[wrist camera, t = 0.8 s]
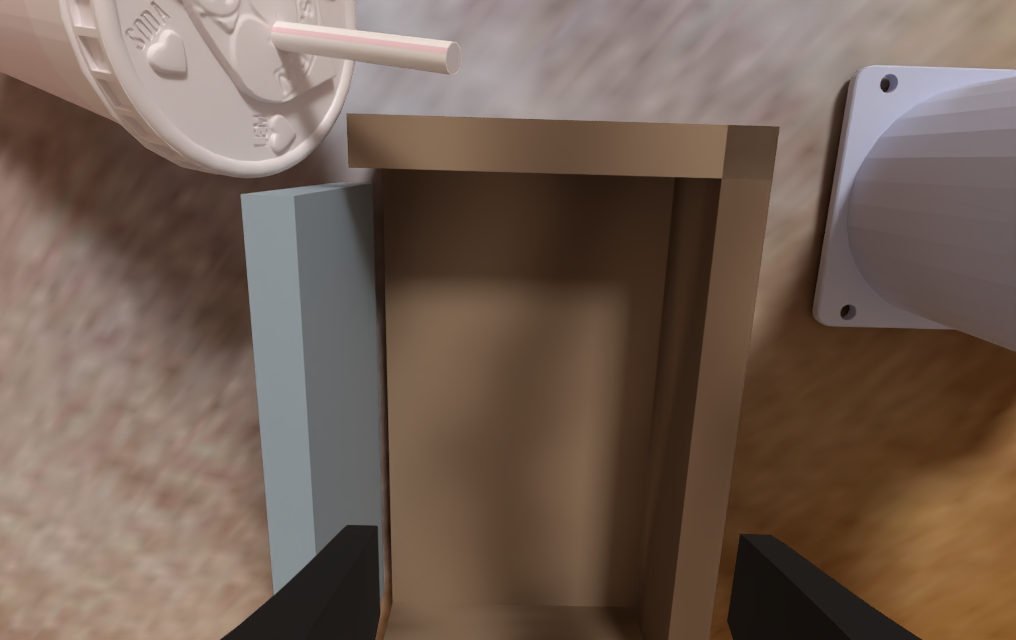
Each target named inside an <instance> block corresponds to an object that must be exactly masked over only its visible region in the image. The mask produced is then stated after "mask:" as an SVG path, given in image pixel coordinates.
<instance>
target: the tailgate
mask: <svg viewBox="0 0 1016 640" xmlns="http://www.w3.org/2000/svg"><path fill="white" fill-rule="evenodd" d="M241 207H242V219H243V231H244V243H245V255H246V267H247V279H248V291H249V303H250V315H251V327H252V339H253V351H254V363H255V375H256V387H257V399H258V411H259V423H260V435H261V447H262V459H263V471H264V483H265V495H266V507H267V519H268V531H269V543H270V555H271V567H272V579H273V591H274V595H275V594H276V593H277V592H278V591H279V590H280V589H281V588H282V587H284V586H285V585H286V584H287V583H288V582H289V581H290V580H291V579H292V578H293V577H294V576H295V575H296V574H297V573H298V572H299V571H301V570H302V569H303V568H304V567H305V566H306V565H307V564H308V563H309V562H310V561H311V560H312V559H313V558H314V557H315V556H316V555H317V554H318V553H319V552H320V551H321V550H322V549H323V548H324V547H325V546H326V545H327V544H328V543H329V542H330V541H331V540H332V539H333V538H334V537H335V536H336V535H337V534H338V533H339V532H340V531H341V530H342V529H343V528H344V527H345V526H346V525H375V526H378V548H379V582H380V603H381V600H382V596H383V592H384V571H383V535H382V500H381V464H380V429H379V393H378V358H377V322H376V287H375V251H374V216H373V183H356V182H335V183H327V184H319V185H311V186H303V187H295V188H287V189H279V190H271V191H263V192H255V193H247V194H241Z"/></svg>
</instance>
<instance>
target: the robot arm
mask: <svg viewBox="0 0 1016 640" xmlns="http://www.w3.org/2000/svg"><path fill="white" fill-rule="evenodd" d="M884 76H885V77H887V78H888V79H889V82H890V86H889V88H888V90H887V91H886V92H883V91H882V90H881V88H880V82H881V80H882V78H883V77H884ZM845 305H849V308H850V310H849V312H848V314H847V315H845V316H844V317H841V316H840V311H841V309H842V308H843V307H844V306H845ZM813 316H814V318H815V320H817V321H818V322H819V323H821V324H823V325H826V326H838V327H876V328H914V329H952V330H958V331H961V332H964V333H966V334H969V335H972V336H974V337H977V338H980V339H982V340H985V341H988V342H990V343H993V344H996V345H999V346H1001V347H1004V348H1007V349H1009V350H1012V351H1015V352H1016V70H1009V69H978V68H946V67H915V66H884V65H873V66H867V67H864V68H861V69H859V70H858V71H856V72H855V73H854V75H853V76H852V77H851V80H850V83H849V88H848V94H847V100H846V106H845V112H844V118H843V125H842V131H841V137H840V143H839V149H838V155H837V162H836V168H835V174H834V180H833V186H832V192H831V199H830V205H829V211H828V217H827V223H826V229H825V236H824V242H823V248H822V254H821V260H820V266H819V272H818V279H817V285H816V291H815V297H814V303H813ZM379 618H380V582H379V548H378V526H375V525H346V526H345V527H344V528H343V529H342V530H341V531H340V532H339V533H338V534H337V535H336V536H335V537H334V538H333V539H332V540H331V541H330V542H329V543H328V544H327V545H326V546H325V547H324V548H323V549H322V550H321V551H320V552H319V553H318V554H317V555H316V556H315V557H314V558H313V559H312V560H311V561H310V562H309V563H308V564H307V565H306V566H305V567H304V568H303V569H302V570H301V571H299V572H298V573H297V574H296V575H295V576H294V577H293V578H292V579H291V580H290V581H289V582H288V583H287V584H286V585H285V586H284V587H282V588H281V589H280V590H279V591H278V592H277V593H276V594H275V595H274V596H273V597H272V598H270V599H269V600H268V601H267V602H266V603H265V604H263V605H262V606H261V607H260V608H259V609H258V610H256V611H255V612H254V613H253V614H252V615H251V616H249V617H248V618H247V619H246V620H245V621H244V622H242V623H241V624H240V625H239V626H237V627H236V628H235V629H234V630H232V631H231V632H230V633H228V634H227V635H226V636H224V637H223V638H222V639H221V640H375V638H376V633H377V628H378V623H379ZM727 621H728V624H729V627H730V631H731V634H732V637H733V640H922V639H920V638H919V637H917V636H915V635H914V634H912V633H911V632H909V631H908V630H906V629H905V628H903V627H902V626H900V625H899V624H897V623H895V622H894V621H892V620H891V619H889V618H888V617H886V616H885V615H883V614H882V613H881V612H879V611H878V610H876V609H875V608H873V607H872V606H870V605H869V604H867V603H866V602H865V601H863V600H862V599H860V598H859V597H857V596H856V595H855V594H853V593H852V592H850V591H849V590H848V589H846V588H845V587H843V586H842V585H841V584H839V583H838V582H837V581H835V580H834V579H832V578H831V577H830V576H828V575H827V574H826V573H824V572H823V571H821V570H820V569H819V568H817V567H816V566H815V565H813V564H812V563H811V562H809V561H808V560H806V559H805V558H804V557H802V556H801V555H799V554H798V553H797V552H795V551H794V550H793V549H791V548H790V547H788V546H787V545H785V544H784V543H782V542H781V541H779V540H778V539H776V538H775V537H773V536H772V535H752V534H740V538H739V545H738V552H737V559H736V565H735V572H734V579H733V586H732V593H731V599H730V606H729V613H728V620H727Z"/></svg>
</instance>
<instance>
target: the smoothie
mask: <svg viewBox="0 0 1016 640" xmlns="http://www.w3.org/2000/svg"><path fill="white" fill-rule="evenodd" d="M355 61H359V62H366V63H373V64H380V65H387V66H394V67H401V68H408V69H415V70H422V71H429V72H436V73H443V74H450V75H455V74H456V73H457V72H458V71H459V69H460V66H461V61H462V53H461V48H460V46H459V44H458V43H457V42H452V41H443V40H435V39H426V38H418V37H409V36H401V35H393V34H384V33H376V32H367V31H359V30H357V25H356V6H355V0H0V72H2V73H5V74H7V75H9V76H12V77H14V78H16V79H18V80H21V81H23V82H25V83H28V84H30V85H32V86H34V87H37V88H39V89H41V90H44V91H46V92H48V93H50V94H53V95H55V96H57V97H60V98H62V99H64V100H66V101H69V102H71V103H73V104H76V105H78V106H80V107H83V108H85V109H87V110H89V111H92V112H94V113H96V114H99V115H101V116H103V117H105V118H108V119H110V120H112V121H114V122H116V123H118V124H120V125H122V126H123V127H124V128H125V129H126V130H127V131H128V132H129V133H130V134H131V135H132V136H133V137H134V138H135V139H137V140H138V141H139V142H140V143H141V144H142V145H143V146H144V147H145V148H147V149H149V150H151V151H153V152H154V153H156V154H158V155H160V156H162V157H164V158H165V159H167V160H169V161H171V162H173V163H175V164H177V165H178V166H180V167H183V168H188V169H193V170H197V171H202V172H206V173H211V174H215V175H217V174H221V175H226V176H231V177H237V178H260V177H265V176H270V175H274V174H277V173H280V172H282V171H285V170H287V169H289V168H291V167H293V166H294V165H296V164H298V163H299V162H301V161H302V160H303V159H305V158H306V157H307V156H309V155H310V154H311V153H312V152H313V151H314V150H315V149H316V148H317V147H318V146H319V145H320V143H321V142H322V141H323V140H324V138H325V137H326V136H327V134H328V133H329V132H330V130H331V128H332V127H333V125H334V123H335V122H336V120H337V118H338V116H339V114H340V112H341V110H342V107H343V104H344V102H345V99H346V96H347V94H348V91H349V87H350V83H351V78H352V74H353V69H354V65H355Z"/></svg>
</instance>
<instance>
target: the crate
mask: <svg viewBox="0 0 1016 640" xmlns="http://www.w3.org/2000/svg"><path fill="white" fill-rule="evenodd" d="M778 135H779V127H772V126H739V125H707V124H674V123H641V122H608V121H575V120H543V119H510V118H477V117H444V116H412V115H379V114H347V137H348V163H349V167H351V168H382V180H383V222H384V264H385V305H386V347H387V389H388V430H389V472H390V513H391V555H392V597H393V603H392V607H391V611H390V615H389V619H388V623H387V627H386V631H385V635H384V638H383V640H709V638H710V631H711V623H712V616H713V609H714V601H715V594H716V587H717V580H718V572H719V565H720V558H721V550H722V543H723V536H724V528H725V521H726V514H727V507H728V499H729V492H730V485H731V477H732V470H733V463H734V456H735V448H736V441H737V434H738V426H739V419H740V412H741V404H742V397H743V390H744V383H745V375H746V368H747V361H748V353H749V346H750V339H751V331H752V324H753V317H754V310H755V302H756V295H757V288H758V280H759V273H760V266H761V259H762V251H763V244H764V237H765V229H766V222H767V215H768V207H769V200H770V193H771V186H772V178H773V171H774V164H775V156H776V149H777V142H778Z"/></svg>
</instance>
